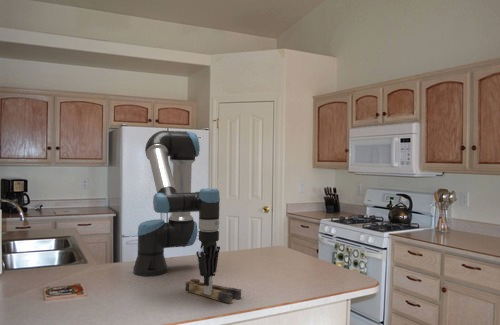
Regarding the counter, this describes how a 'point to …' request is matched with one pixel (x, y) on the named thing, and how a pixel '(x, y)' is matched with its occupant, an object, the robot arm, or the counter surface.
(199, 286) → the tong arm
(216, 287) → the base
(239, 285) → the counter surface
